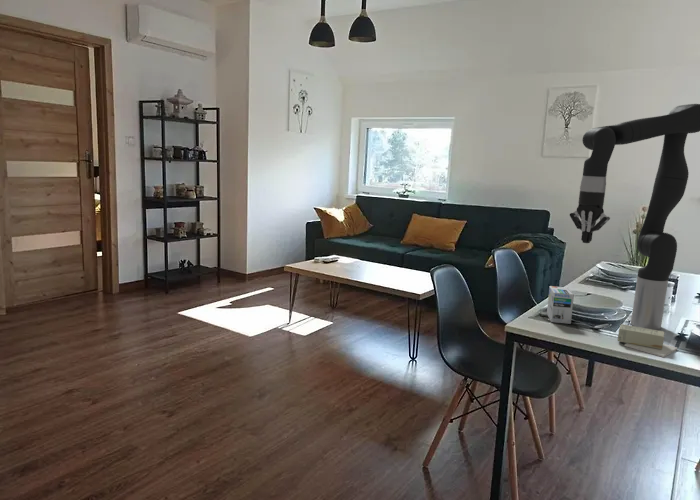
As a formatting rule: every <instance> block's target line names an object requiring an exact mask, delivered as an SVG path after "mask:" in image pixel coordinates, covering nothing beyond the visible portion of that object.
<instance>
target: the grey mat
mask: <svg viewBox="0 0 700 500" xmlns="http://www.w3.org/2000/svg"><path fill="white" fill-rule="evenodd" d="M624 347H627V348H630V349H633V350H637V351H640V352H644V353H648V354H651V355H653V356H657V357H662V358H665V357H667V356H668V355H670V354H672V353H674V352H676V351H678V347H676V346H672V345H669V344H665V343H663V347H662V350H661V349H656V348H651V347H645V346H640V345H635V344H630V343H624Z"/></svg>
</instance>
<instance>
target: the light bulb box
mask: <svg viewBox="0 0 700 500" xmlns="http://www.w3.org/2000/svg"><path fill="white" fill-rule="evenodd" d="M548 287H549V288H548V297H547V298H548V299H547V310H546V315H547V317H548V319H549V320H550V322H551V323H557V324H569V325H571V323H572V317H573V316H572V315H573V307H574V306H573V305H574V298H575V293H573V292H572V291H571V289H570V288H569V287H565V286H563V287H562V286H555V285H554V286H553V285H550V286H548Z"/></svg>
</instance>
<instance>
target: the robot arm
mask: <svg viewBox="0 0 700 500" xmlns="http://www.w3.org/2000/svg"><path fill="white" fill-rule="evenodd" d="M699 132H700V103H689V104H682V105H676V106H675V107H673V108H672V109H671V110H670V111H669V113H668V114H664V115H657V116H650V117H643V118H637V119H633V120H628V121H623V122H620V123H617V124H612V125H606V126H604V125H603V126H599V127H593V128H589V129H588V130H586V132H585V133H584V134H583V137H582V144H583V146H584V147H585V148H586V149H588V150H590V151H591V155H590V157H588V158H586V159H585V160H584V163H583V169H582V170H583V171H582V177H581V181H580V186H579V196H578V205H577V207H576V210H575V211H573V212H571V213H569V217H570V218H571V220H572V222H573V224H574V226H575V227H576V229H579V230H580V231H581V237H580V238H581V239H580V240H581V241H582V243H584V244H590V242H592V240H593V234H594V232H596V231H600V230H601V228H603V226H604V225H606V223H608V222H609V220H610V219H611V217H610V216H607V215H606V214H605V211H604V204H605V198H606V197H605V195H606V190H607V189H606V188H607V175H608V174H607V173H608V166H609V162H610V161H611V160H610V159H611V158H612V155H613V152H614V150H615V146H618V145H619V146H621V145H628V144H632V143H637V142H641V141H645V140H649V139H653V138H656V137H662V136H663V144H662V150H661V154H660V157H659V159H660V160H659V162H658V163H659V164H658V167H657V168H658V169H657V172H656V174H655V175H656V176H655V179H654V183H653V188H652V193H651V198H650V201H649V205H648V208H647V212H646V215H645V218H644V221H643V223H642V226H641V229H640V231H639V235H638V237H637V238H638V239H637V243H636V244H637V245H636V247H637V251H638V253H640V254H641V255H642V256H644V257H648V261H647V264H646V265H645V266H642V267H639V268H638V271H637V277H636V286H635V290H634V299H633V307H632V312H631V320H630V326H635V327H641V328H646V329H652V330H657V331H661V329H662V324H663V317H664V310H665V303H666V298H667V297H666V296H667V291H668V286H669V285H668V284H669V280H670V279H669V278H670V276H671V273H672V272H673V270H674V266H675V261H676V256H677V251H678V242H677V239H676V237H674V235H673V234H670V233H667V232H664V229H665V226H666V222H667V219H668V217H669V215H670V214H671V213H672V211H673V210H674V209H675V207H676V206H677V205H678V204H679V203H680V201H682V199H683V197H684V195H685V192H686V188H687V185H688V181H689V173H690V172H689V167H688V164H687V160H686V155H685V145H686V141H687V137H688V134H696V133H699ZM580 219H581V220H580ZM598 220H599V221H598ZM597 221H598V222H597Z"/></svg>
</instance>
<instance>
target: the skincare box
mask: <svg viewBox="0 0 700 500" xmlns="http://www.w3.org/2000/svg"><path fill="white" fill-rule="evenodd" d="M665 333H666V332H665V331H663V330H652V329H646V328H641V327H635V326H633V325H628V324H624V323H621V324H620V326H619V329H618V336H617V342H619V343H624V344H626V343H630V344H635V345H640V346H645V347H651V348H656V349H661V350H662V347H663V344H664V342H665V341H664V340H665Z"/></svg>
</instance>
